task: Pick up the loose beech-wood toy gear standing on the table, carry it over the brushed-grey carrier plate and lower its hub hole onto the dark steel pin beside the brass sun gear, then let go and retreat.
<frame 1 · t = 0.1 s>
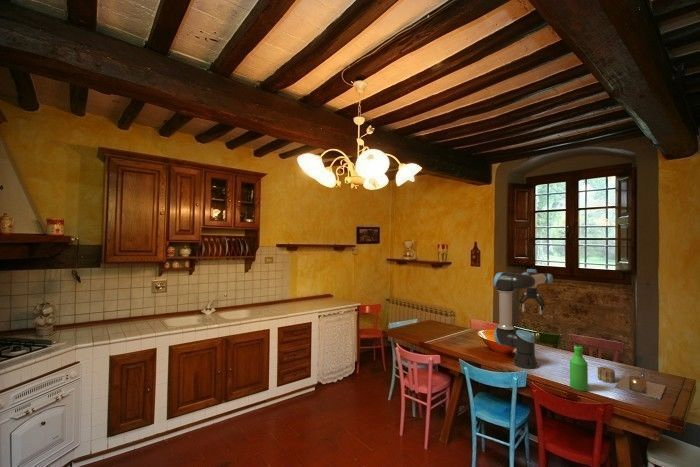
hand: (532, 312, 278), 28 cm above the table, fingers open, 13 cm apart
planet gear: (606, 380, 209), on the table
carrier: (640, 387, 199), on the table
bottle: (578, 388, 198), on the table
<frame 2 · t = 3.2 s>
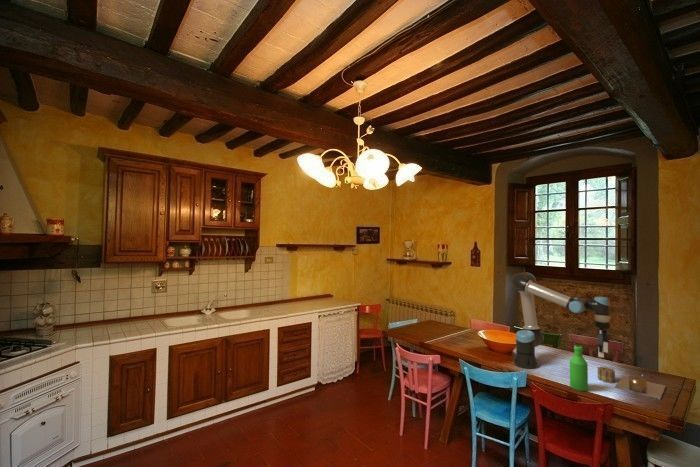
hand: (603, 354, 212), 15 cm above the table, fingers open, 13 cm apart
nothing on the table moved.
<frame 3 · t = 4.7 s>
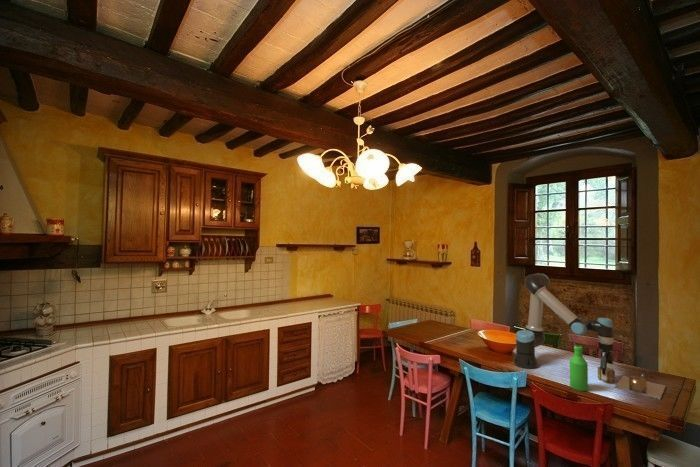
hand: (606, 376, 209), 2 cm above the table, fingers open, 13 cm apart
nothing on the table moved.
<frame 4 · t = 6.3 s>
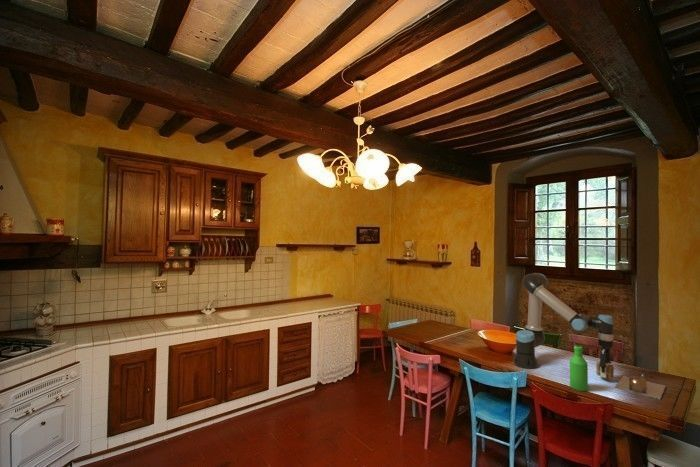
hand: (605, 375, 210), 3 cm above the table, fingers closed on planet gear, 9 cm apart
planet gear: (604, 375, 210), point 3 cm above the table, touching gripper
everything else where it was.
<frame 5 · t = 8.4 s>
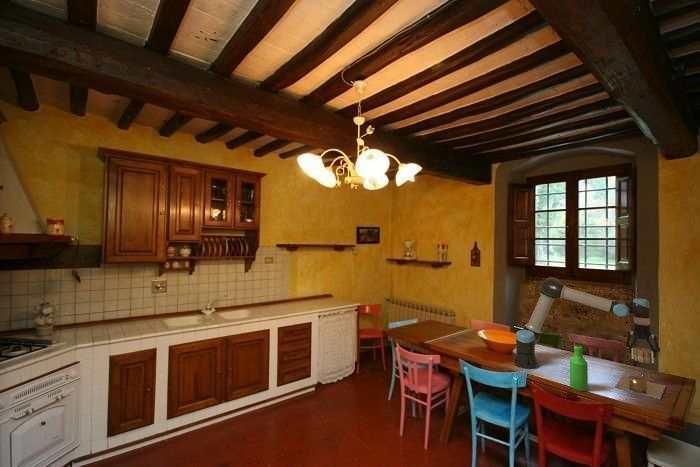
hand: (642, 360, 206), 14 cm above the table, fingers closed on planet gear, 9 cm apart
planet gear: (642, 360, 205), point 14 cm above the table, touching gripper
everything else where it was.
when the fingers open (2 cm above the table, at t = 10.6 s): planet gear drops 1 cm, resting on carrier.
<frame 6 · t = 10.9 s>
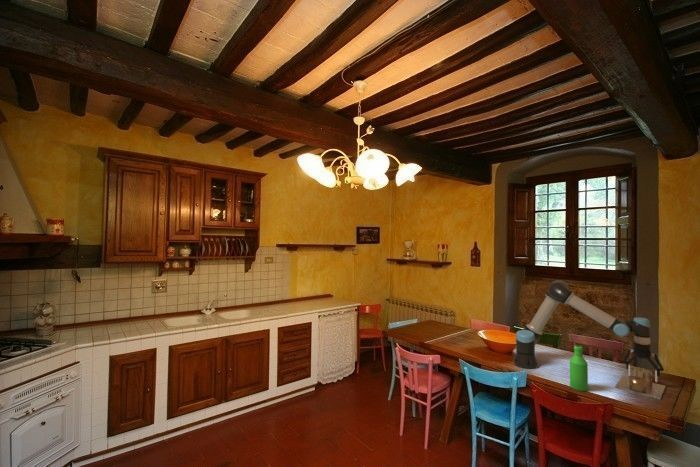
hand: (642, 378, 205), 3 cm above the table, fingers open, 12 cm apart
planet gear: (642, 381, 205), point 1 cm above the table, touching carrier
everything else where it was.
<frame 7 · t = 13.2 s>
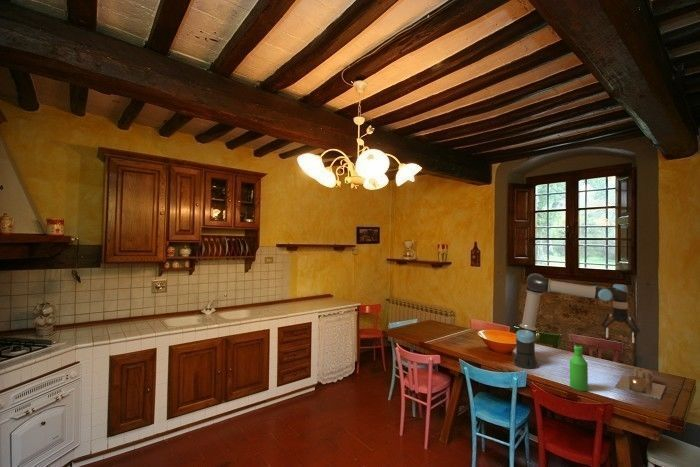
hand: (620, 339, 219), 23 cm above the table, fingers open, 13 cm apart
nothing on the table moved.
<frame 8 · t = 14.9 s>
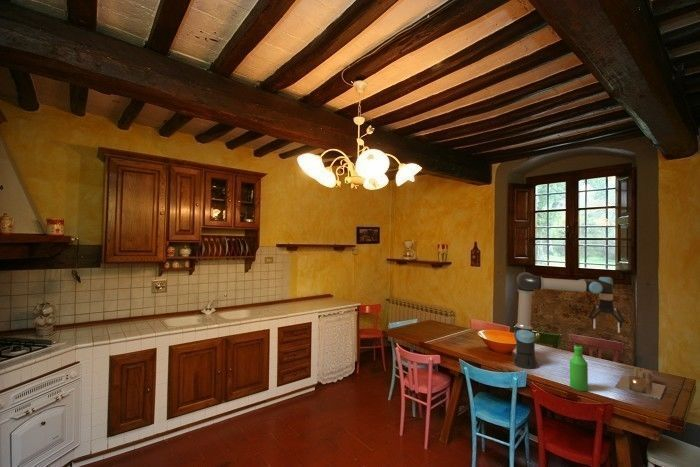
hand: (606, 330, 228), 27 cm above the table, fingers open, 13 cm apart
nothing on the table moved.
at the end: planet gear 0.1 cm from the target spot on the carrier, point 0.8 cm above the carrier's base; planet gear tilted 0°; the gripper is holding nothing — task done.
